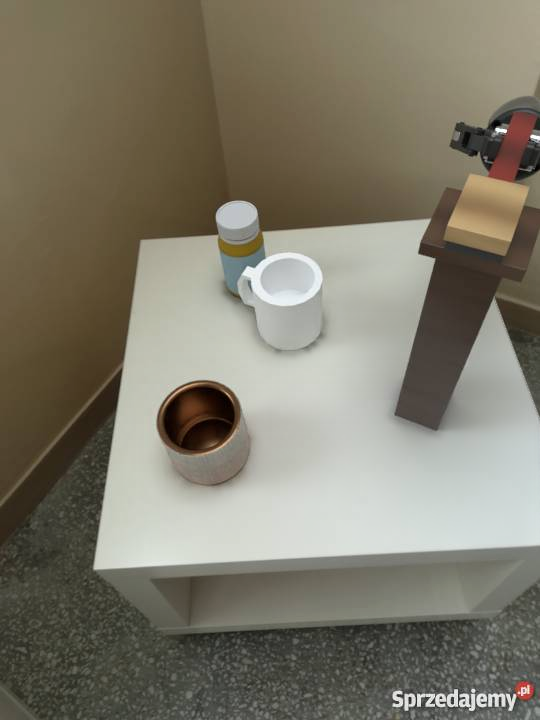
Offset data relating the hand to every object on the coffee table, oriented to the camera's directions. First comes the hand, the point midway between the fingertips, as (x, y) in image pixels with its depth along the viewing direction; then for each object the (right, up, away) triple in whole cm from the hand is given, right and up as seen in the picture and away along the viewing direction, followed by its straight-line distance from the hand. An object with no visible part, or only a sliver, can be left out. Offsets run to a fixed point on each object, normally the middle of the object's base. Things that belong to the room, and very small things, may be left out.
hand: (510, 153), depth 47 cm
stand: (0, -25, +27) cm, 37 cm away
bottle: (-25, -6, +42) cm, 49 cm away
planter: (-30, -31, +26) cm, 50 cm away
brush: (-1, -3, +1) cm, 3 cm away
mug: (-19, -12, +37) cm, 44 cm away
